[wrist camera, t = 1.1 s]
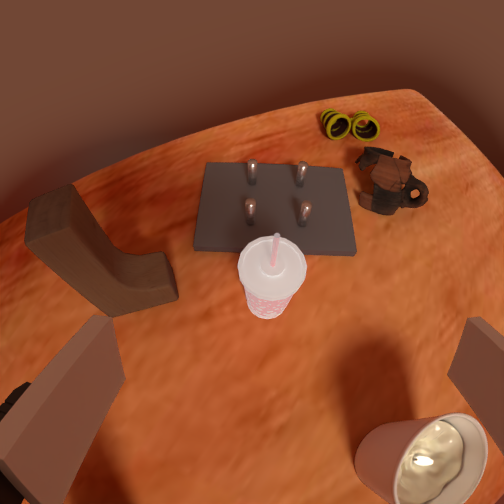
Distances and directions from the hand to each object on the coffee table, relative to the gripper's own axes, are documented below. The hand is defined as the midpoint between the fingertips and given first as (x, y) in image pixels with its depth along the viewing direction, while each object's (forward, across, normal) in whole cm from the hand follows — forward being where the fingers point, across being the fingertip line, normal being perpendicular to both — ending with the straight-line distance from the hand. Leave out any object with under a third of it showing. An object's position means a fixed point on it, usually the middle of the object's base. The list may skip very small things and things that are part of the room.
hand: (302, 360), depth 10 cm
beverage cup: (+24, 0, -9) cm, 26 cm away
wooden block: (+24, -15, -9) cm, 30 cm away
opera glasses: (+46, +14, +12) cm, 49 cm away
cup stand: (+33, +1, 0) cm, 33 cm away
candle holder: (+10, +14, -23) cm, 28 cm away
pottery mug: (+36, +18, +3) cm, 40 cm away
